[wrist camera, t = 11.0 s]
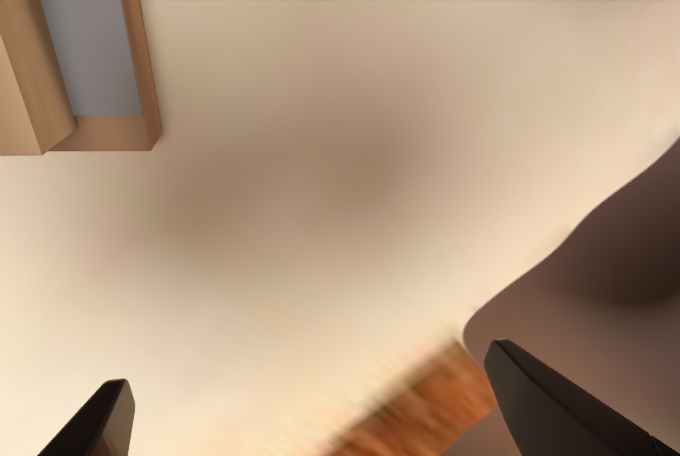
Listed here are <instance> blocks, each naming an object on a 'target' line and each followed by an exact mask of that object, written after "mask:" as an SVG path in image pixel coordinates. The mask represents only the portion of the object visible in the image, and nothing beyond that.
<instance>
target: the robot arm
mask: <svg viewBox="0 0 680 456" xmlns="http://www.w3.org/2000/svg"><path fill="white" fill-rule="evenodd" d="M484 368H485V371H486V374H487V376H488V379H489V381H490V384H491V387H492V389H493V392H494V394H495V397H496V399H497V402H498V405H499V407H500V410H501V412H502V415H503V417H504V420H505V422H506V424H507V426H508V429H509V431H510V433H511V435H512V437H513V439H514V441H515V443H516V445H517V447H518V448H519V451H520V453H521V455H522V456H680V454H679V453H678V452H676V451H675V450H673V449H672V448H670V447H669V446H667V445H666V444H664V443H663V442H661V441H660V440H658V439H656V438H655V437H654V436H650V435H649V433H648V432H646V431H645V430H643V429H642V428H640V427H639V426H637V425H636V424H634V423H633V422H631V421H630V420H628V419H627V418H625V417H624V416H623V415H621V414H620V413H618V412H616V411H615V410H614V409H612V408H611V407H609V406H608V405H606V404H605V403H603V402H602V401H600V400H599V399H597V398H596V397H594V396H593V395H591V394H590V393H588V392H587V391H585V390H584V389H582V388H581V387H579V386H578V385H576V384H575V383H573V382H572V381H570V380H569V379H567V378H566V377H564V376H563V375H562V374H560V373H559V372H557V371H556V370H554V369H553V368H551V367H549V366H548V365H547V364H545V363H544V362H542V361H541V360H539V359H538V358H536V357H535V356H533V355H532V354H530V353H529V352H527V351H526V350H524V349H522V348H521V347H520V346H518V345H517V344H515V343H514V342H512V341H511V340H509V339H505V338H503V339H494V340H492V341H491V343H490V346H489V348H488V351H487V353H486V356H485V359H484ZM134 413H135V401H134V398H133V395H132V391H131V388H130V385H129V382H128V380H126V379H115V380H108V381H106V382H105V383H103V384H102V385H101V387H100V388H99V389H98V390H97V391H96V392H95V393H94V394H93V395H92V396H91V397H90V399H89V400H88V401H87V402H86V403H85V404H84V405H83V406H82V407H81V408H80V409H79V411H78V412H77V413H76V414H75V415H74V416H73V417H72V418H71V419H70V420H69V422H68V423H67V424H66V425H65V426H64V427H63V428H62V429H61V430H60V431H59V432H58V434H57V435H56V436H55V437H54V438H53V439H52V440H51V441H50V442H49V443H48V444H47V446H46V447H45V448H44V449H43V450H42V451H41V452H40V453H39V454H38V455H37V456H128V450H129V444H130V438H131V432H132V426H133V419H134Z"/></svg>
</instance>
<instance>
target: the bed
mask: <svg viewBox="0 0 680 456" xmlns="http://www.w3.org/2000/svg"><path fill="white" fill-rule="evenodd" d="M41 3H42V7H43V10H44V14H45V17H46V21H47V24H48V28H49V31H50V35H51V38H52V42H53V45H54V49H55V52H56V56H57V60H58V63H59V67H60V70H61V74H62V77H63V81H64V84H65V88H66V91H67V95H68V98H69V102H70V105H71V109H72V112H73V116H74V119H75V123H76V126H77V129H76V130H74V131H73V132H72V133H71V134H69V135H68V136H67V137H65V138H64V139H63V140H61V141H60V142H59V143H57V144H56V145H55V146H54V147H52V148H51V149H50V150H48V151H151V149H152V148H153V146H154V145H155V143H156V142H157V140H158V139H159V137H160V136H161V134H162V128H161V122H160V117H159V111H158V105H157V99H156V93H155V88H154V82H153V76H152V70H151V64H150V59H149V53H148V47H147V41H146V35H145V30H144V24H143V18H142V12H141V6H140V1H139V0H41Z"/></svg>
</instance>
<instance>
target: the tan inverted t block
mask: <svg viewBox="0 0 680 456" xmlns="http://www.w3.org/2000/svg"><path fill="white" fill-rule="evenodd" d="M76 129H77V126H76V123H75V119H74V116H73V112H72V109H71V105H70V102H69V98H68V95H67V91H66V88H65V84H64V81H63V77H62V74H61V70H60V67H59V63H58V60H57V56H56V52H55V49H54V45H53V42H52V38H51V35H50V31H49V28H48V24H47V21H46V17H45V14H44V10H43V7H42V3H41V0H0V156H17V155H43V154H44V153H46V152H47V151H48V150H50V149H51V148H52V147H54V146H55V145H56V144H57V143H59V142H60V141H61V140H63V139H64V138H65V137H67V136H68V135H69V134H71V133H72V132H73V131H74V130H76Z"/></svg>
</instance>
